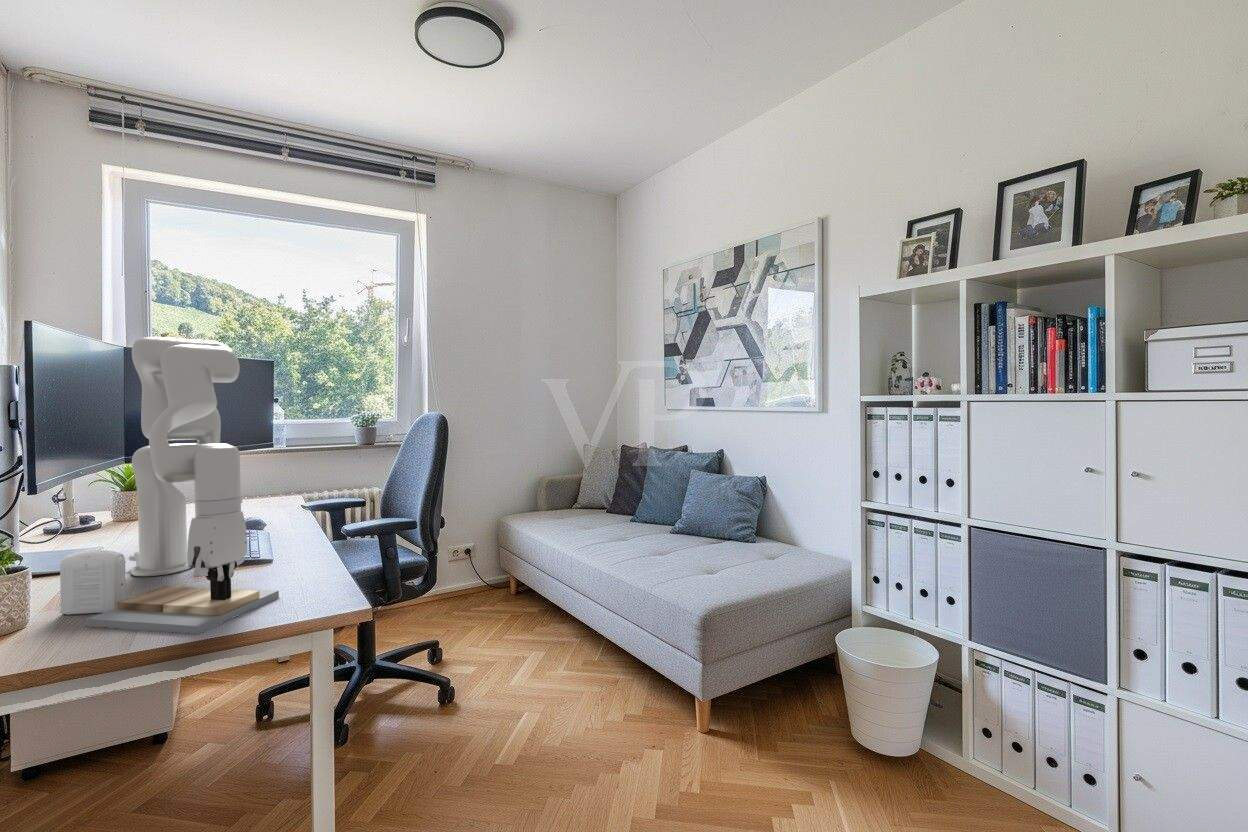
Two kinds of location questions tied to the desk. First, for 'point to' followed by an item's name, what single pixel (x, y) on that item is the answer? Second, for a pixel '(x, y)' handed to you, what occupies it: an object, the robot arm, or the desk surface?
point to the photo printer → (92, 581)
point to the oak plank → (210, 602)
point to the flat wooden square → (156, 598)
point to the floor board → (173, 617)
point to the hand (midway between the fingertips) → (221, 598)
